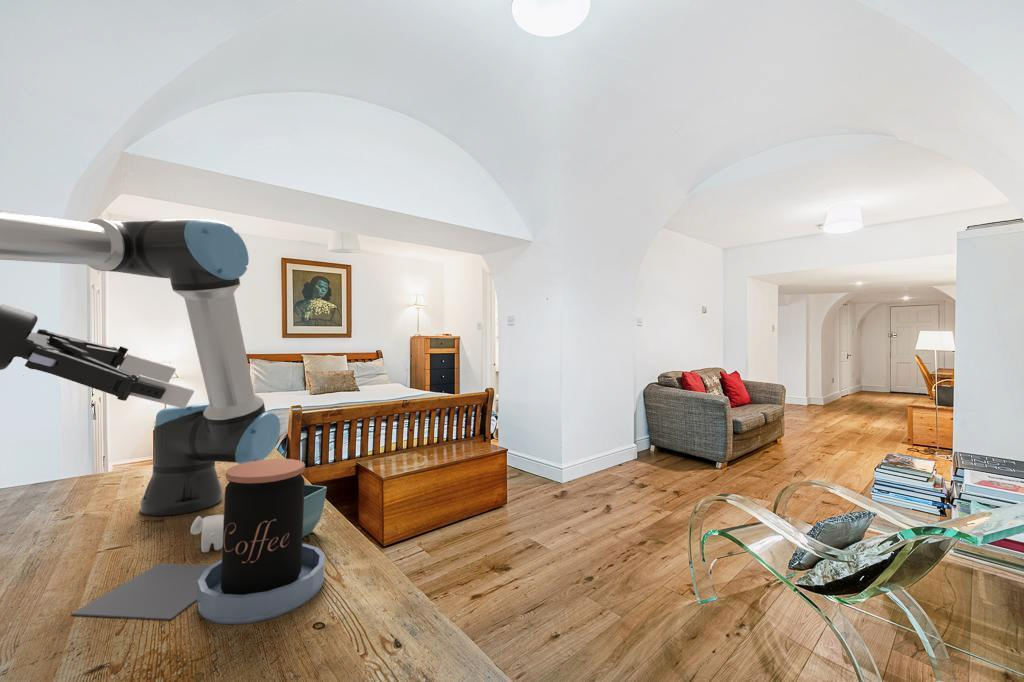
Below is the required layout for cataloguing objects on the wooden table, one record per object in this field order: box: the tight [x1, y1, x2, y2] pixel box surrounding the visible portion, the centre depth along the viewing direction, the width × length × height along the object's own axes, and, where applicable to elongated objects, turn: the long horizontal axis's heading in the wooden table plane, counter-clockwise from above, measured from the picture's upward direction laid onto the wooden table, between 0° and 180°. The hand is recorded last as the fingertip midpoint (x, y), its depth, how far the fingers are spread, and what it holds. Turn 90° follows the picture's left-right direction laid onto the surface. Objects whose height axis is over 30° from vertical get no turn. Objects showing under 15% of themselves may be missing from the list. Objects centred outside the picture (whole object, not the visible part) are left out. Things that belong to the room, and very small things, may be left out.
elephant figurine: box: [190, 514, 224, 553], centre depth 79 cm, size 7×8×6 cm
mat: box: [71, 563, 211, 621], centre depth 65 cm, size 14×14×1 cm
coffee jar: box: [221, 458, 306, 595], centre depth 66 cm, size 11×11×18 cm
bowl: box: [196, 542, 326, 625], centre depth 66 cm, size 17×17×4 cm
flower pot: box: [303, 483, 328, 538], centre depth 85 cm, size 9×9×9 cm
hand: (179, 387), depth 66 cm, fingers open, 13 cm apart
